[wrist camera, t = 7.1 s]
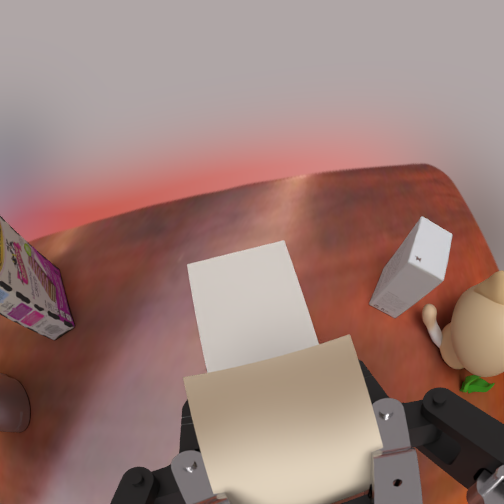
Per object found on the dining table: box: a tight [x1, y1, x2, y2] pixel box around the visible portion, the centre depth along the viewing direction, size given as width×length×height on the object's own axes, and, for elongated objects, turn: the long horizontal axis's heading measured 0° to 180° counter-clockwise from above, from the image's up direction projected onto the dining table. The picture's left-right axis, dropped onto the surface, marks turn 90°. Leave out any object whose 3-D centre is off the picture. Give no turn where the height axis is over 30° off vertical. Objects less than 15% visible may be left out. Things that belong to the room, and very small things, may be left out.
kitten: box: [422, 271, 504, 393], centre depth 22 cm, size 15×10×15 cm
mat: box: [187, 240, 319, 373], centre depth 33 cm, size 16×13×1 cm
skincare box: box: [369, 217, 452, 318], centre depth 28 cm, size 6×4×12 cm
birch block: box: [183, 334, 383, 504], centre depth 12 cm, size 5×5×12 cm
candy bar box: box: [0, 216, 75, 340], centre depth 28 cm, size 11×5×16 cm, turn 34°
